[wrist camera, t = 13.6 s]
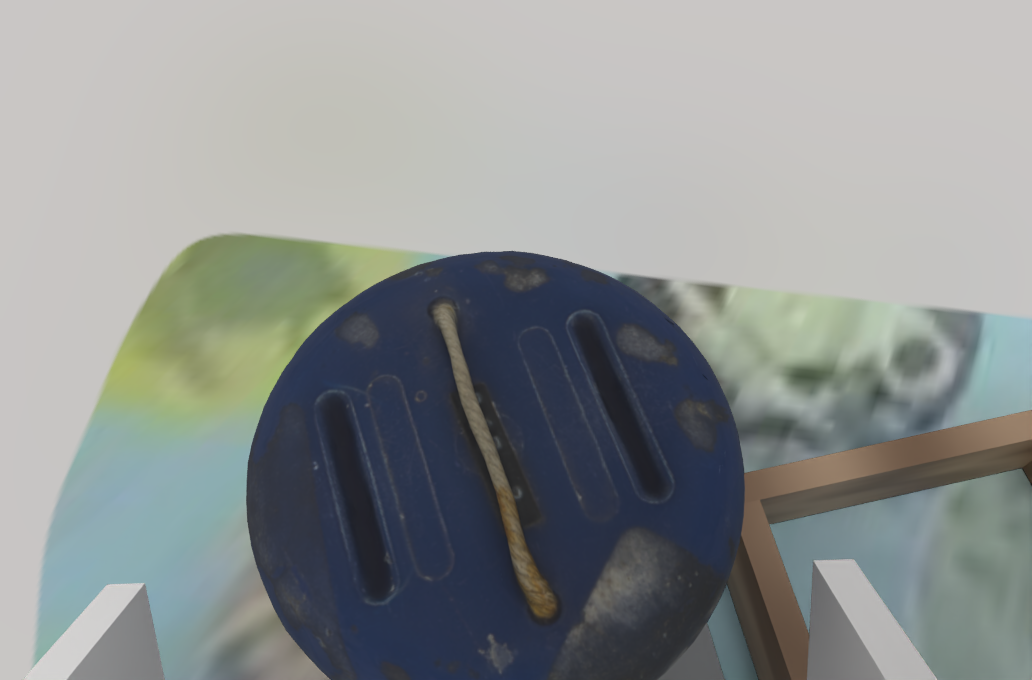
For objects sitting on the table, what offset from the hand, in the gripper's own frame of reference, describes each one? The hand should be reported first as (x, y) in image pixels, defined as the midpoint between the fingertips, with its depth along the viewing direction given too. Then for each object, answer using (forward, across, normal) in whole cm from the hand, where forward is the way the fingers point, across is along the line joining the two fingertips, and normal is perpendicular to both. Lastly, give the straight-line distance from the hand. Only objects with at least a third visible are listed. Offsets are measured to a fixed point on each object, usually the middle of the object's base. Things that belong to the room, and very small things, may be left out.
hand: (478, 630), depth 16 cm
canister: (+12, 0, -8) cm, 14 cm away
